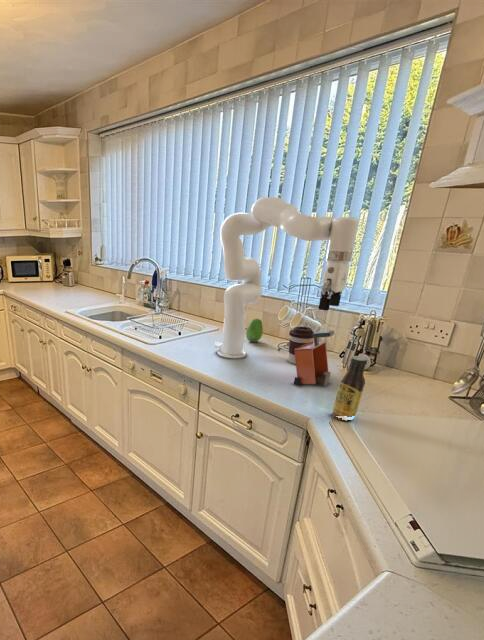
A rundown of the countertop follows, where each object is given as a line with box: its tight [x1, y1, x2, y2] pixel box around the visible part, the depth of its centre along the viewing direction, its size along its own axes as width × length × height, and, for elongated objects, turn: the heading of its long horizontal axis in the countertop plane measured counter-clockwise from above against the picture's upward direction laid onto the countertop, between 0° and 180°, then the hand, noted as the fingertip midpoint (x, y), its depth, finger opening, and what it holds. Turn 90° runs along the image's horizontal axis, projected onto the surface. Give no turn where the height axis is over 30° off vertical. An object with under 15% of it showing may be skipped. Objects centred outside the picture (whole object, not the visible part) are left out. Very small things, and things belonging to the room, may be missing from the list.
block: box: [315, 369, 332, 387], centre depth 147 cm, size 4×4×4 cm
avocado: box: [245, 318, 264, 343], centre depth 197 cm, size 8×8×12 cm
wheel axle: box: [293, 376, 301, 387], centre depth 151 cm, size 2×16×3 cm, turn 134°
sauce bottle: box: [332, 355, 368, 422], centre depth 118 cm, size 6×6×20 cm
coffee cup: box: [288, 326, 316, 365], centre depth 167 cm, size 10×10×15 cm
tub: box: [294, 330, 335, 385], centre depth 146 cm, size 18×13×11 cm
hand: (328, 307), depth 138 cm, fingers open, 9 cm apart
